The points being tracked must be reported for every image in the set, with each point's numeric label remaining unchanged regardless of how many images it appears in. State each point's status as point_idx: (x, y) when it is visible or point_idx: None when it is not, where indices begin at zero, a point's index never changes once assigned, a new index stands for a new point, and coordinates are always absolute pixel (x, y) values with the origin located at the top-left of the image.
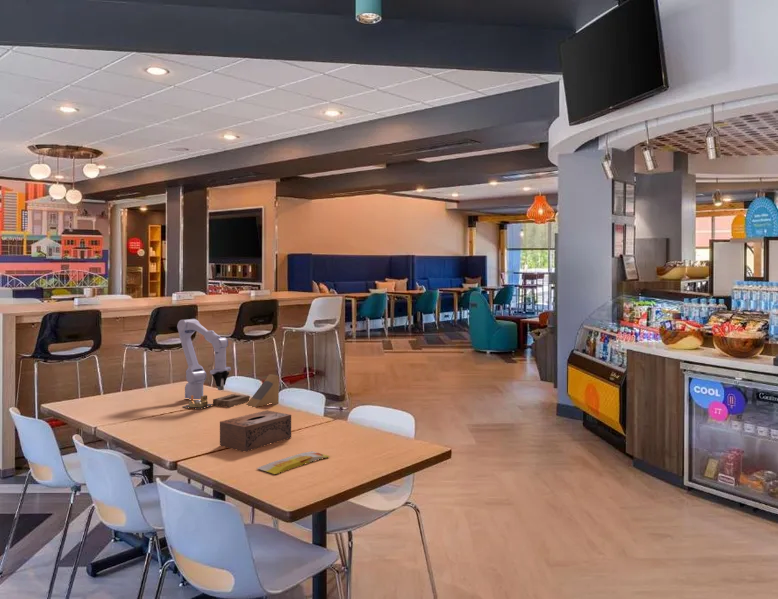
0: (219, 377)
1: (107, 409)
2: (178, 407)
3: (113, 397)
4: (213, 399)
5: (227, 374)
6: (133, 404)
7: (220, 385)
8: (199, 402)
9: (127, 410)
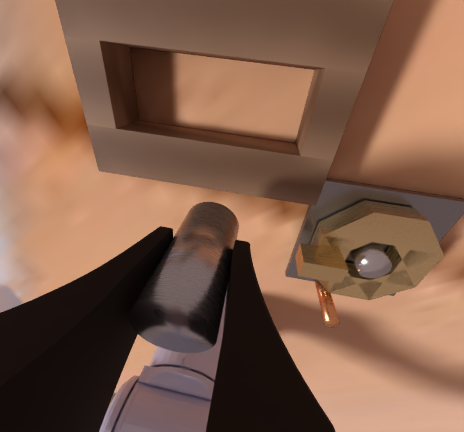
0: (293, 365)
1: (414, 418)
2: (383, 303)
3: None
4: (316, 202)
5: (8, 336)
6: (337, 396)
7: (237, 245)
8: (403, 246)
9: (436, 394)
